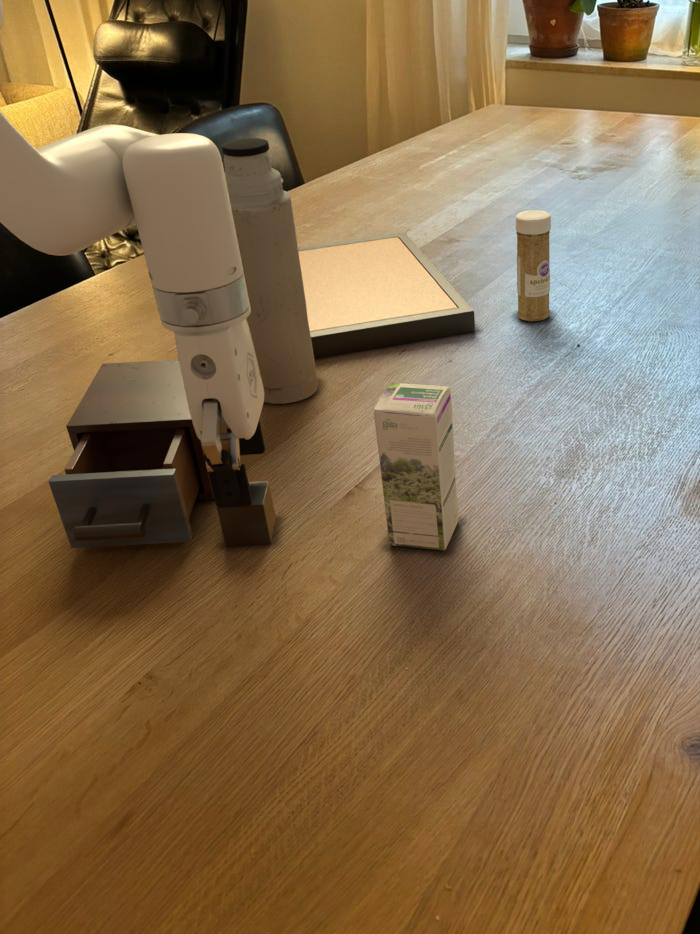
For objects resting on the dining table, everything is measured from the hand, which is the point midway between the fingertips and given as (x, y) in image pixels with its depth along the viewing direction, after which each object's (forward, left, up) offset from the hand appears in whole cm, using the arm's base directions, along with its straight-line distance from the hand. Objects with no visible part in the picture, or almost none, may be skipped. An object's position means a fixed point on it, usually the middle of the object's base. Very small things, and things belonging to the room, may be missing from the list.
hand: (242, 478), depth 97 cm
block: (0, 0, -6) cm, 6 cm away
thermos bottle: (0, +32, -6) cm, 33 cm away
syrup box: (+17, -2, -6) cm, 18 cm away
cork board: (+2, +59, -6) cm, 59 cm away
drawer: (-11, +2, -5) cm, 13 cm away
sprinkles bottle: (+32, +51, -6) cm, 60 cm away
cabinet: (-11, +14, -6) cm, 19 cm away
